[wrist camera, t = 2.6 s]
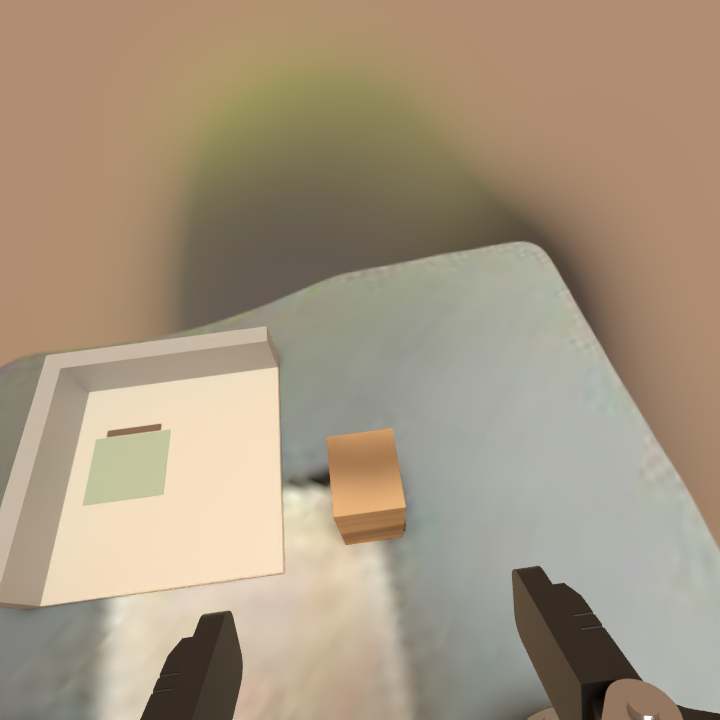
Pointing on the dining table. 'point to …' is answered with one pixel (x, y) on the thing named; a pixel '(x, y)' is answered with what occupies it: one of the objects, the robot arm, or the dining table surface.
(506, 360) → the dining table surface
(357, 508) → the wood block
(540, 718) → the teacup
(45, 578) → the platform
